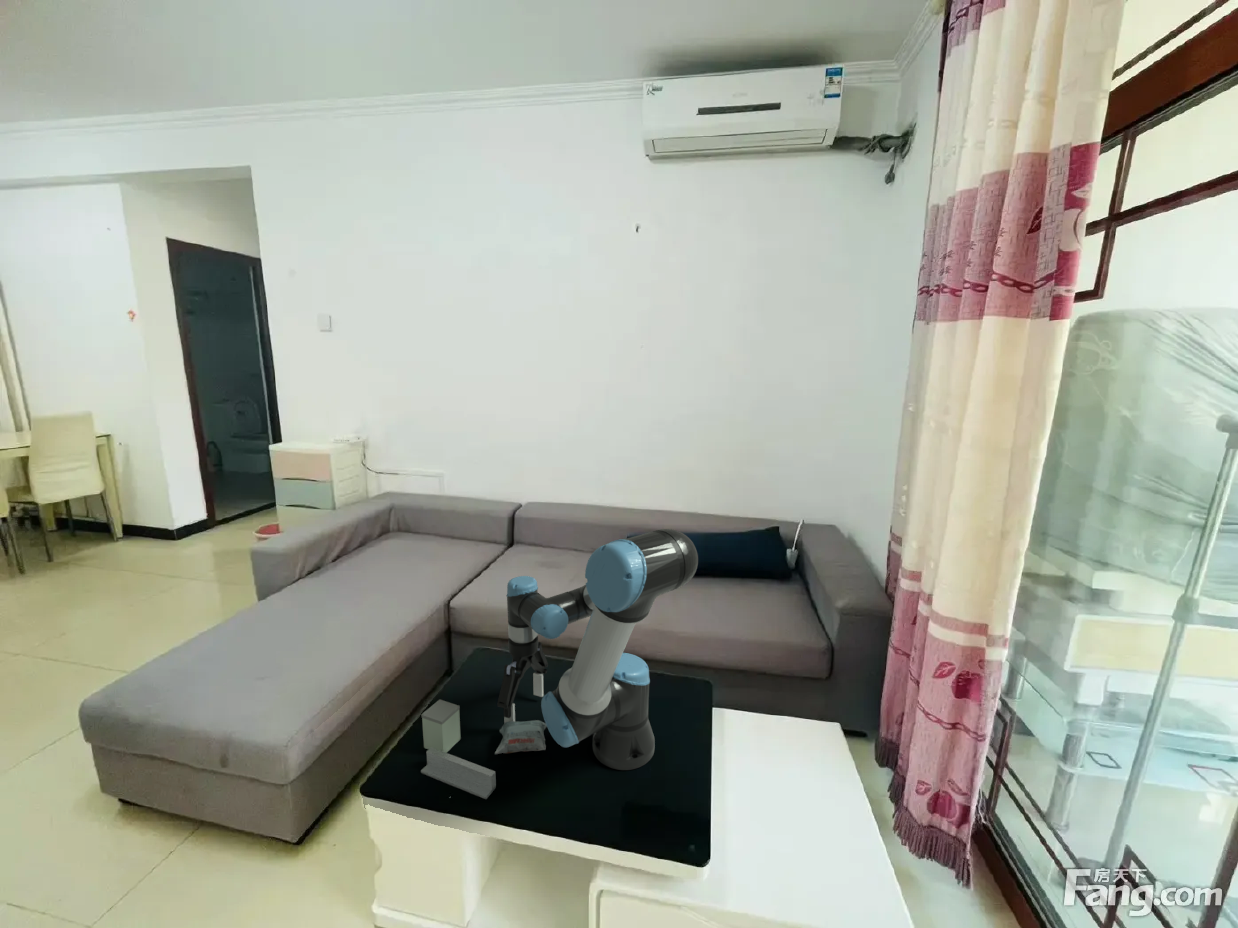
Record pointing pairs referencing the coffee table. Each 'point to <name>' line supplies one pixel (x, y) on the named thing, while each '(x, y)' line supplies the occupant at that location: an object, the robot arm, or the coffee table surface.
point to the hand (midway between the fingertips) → (524, 709)
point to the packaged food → (522, 737)
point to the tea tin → (441, 726)
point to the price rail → (460, 773)
